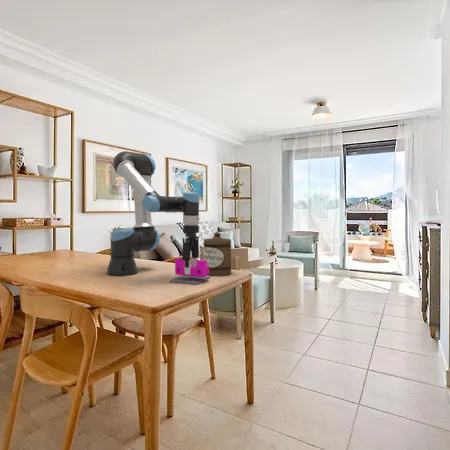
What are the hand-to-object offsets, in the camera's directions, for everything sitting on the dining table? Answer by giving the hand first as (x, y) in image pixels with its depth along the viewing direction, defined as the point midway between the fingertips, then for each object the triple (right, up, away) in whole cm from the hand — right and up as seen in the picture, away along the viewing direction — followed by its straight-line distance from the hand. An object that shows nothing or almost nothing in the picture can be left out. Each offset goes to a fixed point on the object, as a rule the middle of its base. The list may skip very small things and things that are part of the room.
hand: (190, 272), depth 156 cm
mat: (0, -4, 0) cm, 4 cm away
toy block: (+1, -1, 0) cm, 1 cm away
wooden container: (+12, -3, +18) cm, 22 cm away
